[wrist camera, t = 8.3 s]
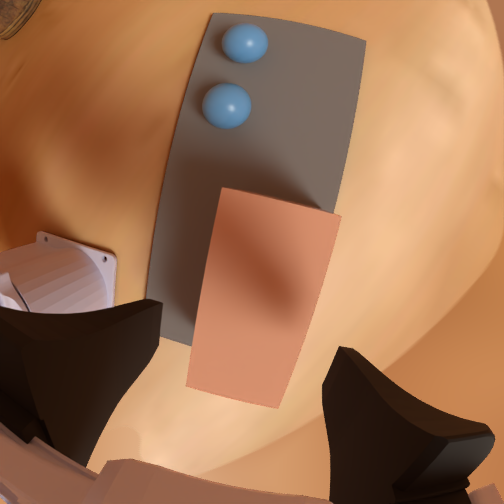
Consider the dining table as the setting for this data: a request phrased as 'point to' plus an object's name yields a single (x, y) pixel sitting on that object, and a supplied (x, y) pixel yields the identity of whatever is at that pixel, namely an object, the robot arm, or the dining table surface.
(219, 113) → the blue marble
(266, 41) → the blue marble
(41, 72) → the dining table surface
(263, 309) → the terracotta cover
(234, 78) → the charcoal mat
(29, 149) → the dining table surface
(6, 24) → the wooden mug
